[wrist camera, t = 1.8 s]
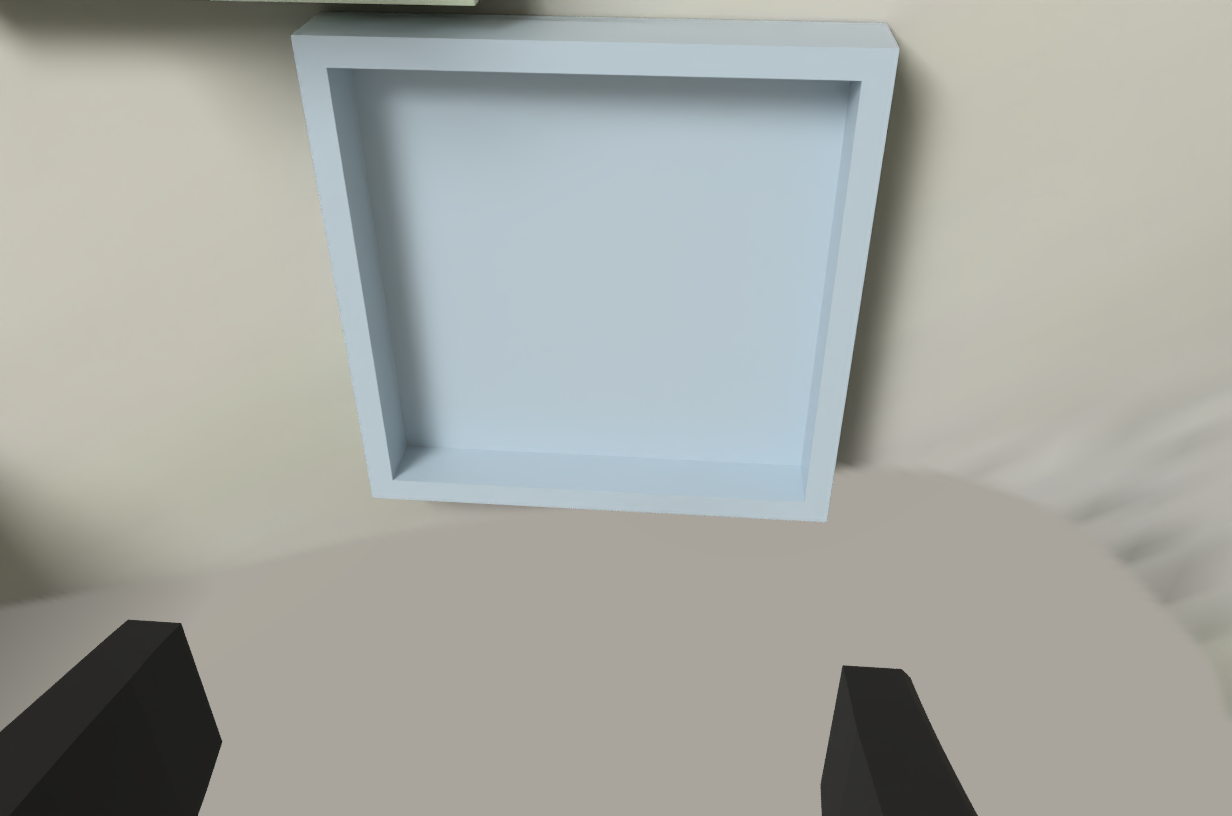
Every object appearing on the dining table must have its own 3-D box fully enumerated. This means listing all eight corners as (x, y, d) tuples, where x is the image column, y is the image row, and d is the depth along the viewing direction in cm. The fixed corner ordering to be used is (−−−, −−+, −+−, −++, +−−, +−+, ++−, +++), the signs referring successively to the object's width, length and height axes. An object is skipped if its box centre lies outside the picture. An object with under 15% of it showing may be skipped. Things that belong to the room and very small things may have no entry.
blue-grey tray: (390, 455, 23) (372, 497, 22) (320, 11, 17) (290, 34, 16) (820, 476, 22) (826, 522, 21) (886, 23, 17) (899, 49, 16)
